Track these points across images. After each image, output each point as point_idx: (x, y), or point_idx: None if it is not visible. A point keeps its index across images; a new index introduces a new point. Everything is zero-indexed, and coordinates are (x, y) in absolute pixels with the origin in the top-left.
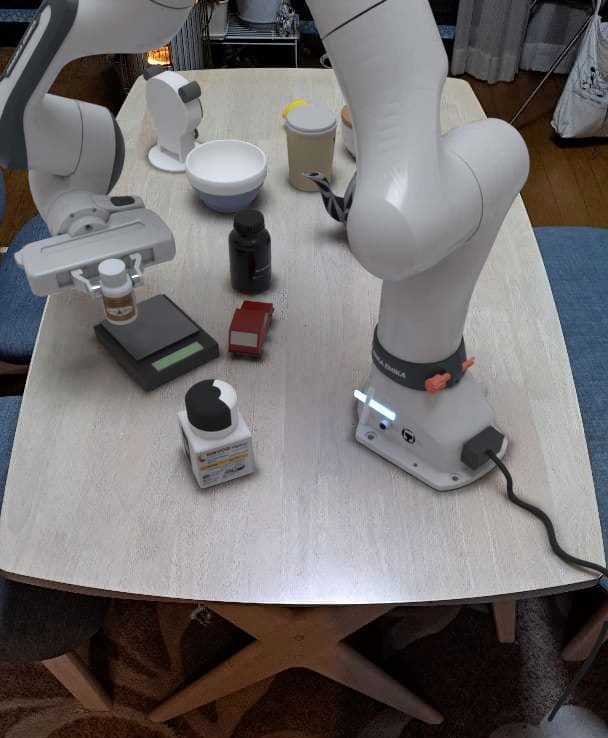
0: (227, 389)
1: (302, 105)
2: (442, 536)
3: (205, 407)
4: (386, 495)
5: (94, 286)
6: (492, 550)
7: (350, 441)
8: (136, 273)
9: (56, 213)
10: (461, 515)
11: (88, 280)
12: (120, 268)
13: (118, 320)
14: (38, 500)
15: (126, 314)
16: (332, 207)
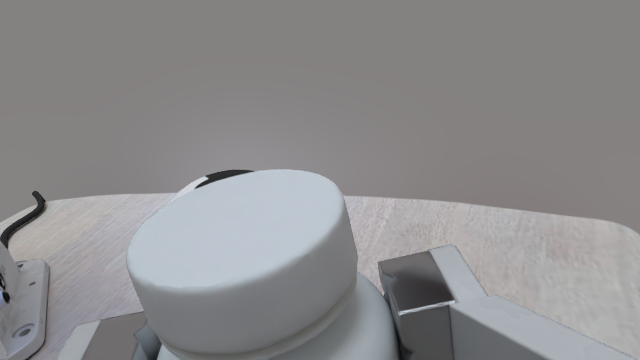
0: (180, 193)
1: None
2: (101, 228)
3: (241, 170)
4: (100, 268)
5: (415, 257)
6: (80, 217)
7: (51, 346)
8: (101, 335)
9: None
10: (62, 243)
11: (463, 311)
12: (189, 203)
13: None
14: (633, 314)
15: None
16: None
